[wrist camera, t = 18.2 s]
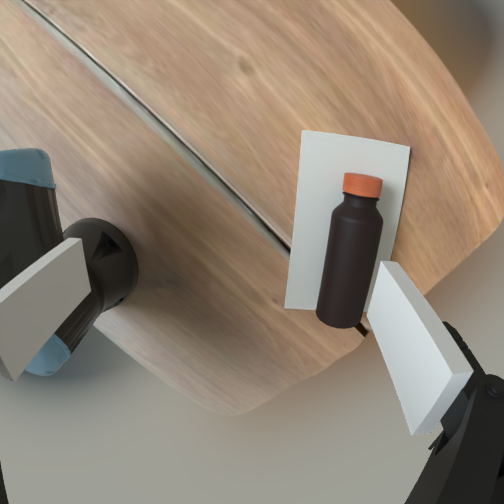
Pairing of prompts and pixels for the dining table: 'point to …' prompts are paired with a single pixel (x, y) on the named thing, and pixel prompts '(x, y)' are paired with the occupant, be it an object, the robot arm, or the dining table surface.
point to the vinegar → (350, 252)
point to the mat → (330, 196)
